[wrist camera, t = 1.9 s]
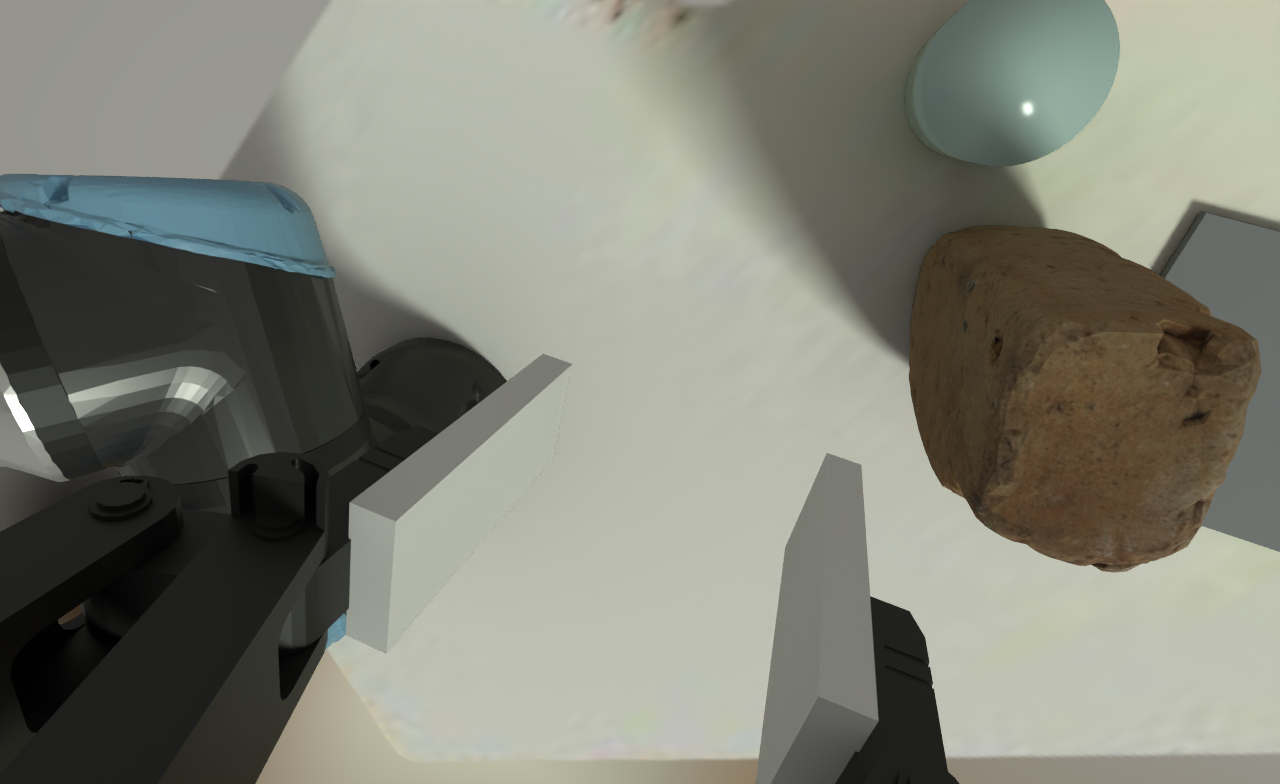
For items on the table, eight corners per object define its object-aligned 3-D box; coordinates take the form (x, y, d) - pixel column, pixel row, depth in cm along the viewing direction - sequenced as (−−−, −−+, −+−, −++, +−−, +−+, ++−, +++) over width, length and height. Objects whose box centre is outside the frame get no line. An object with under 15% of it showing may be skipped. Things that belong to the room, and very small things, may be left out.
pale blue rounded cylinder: (883, 139, 34) (895, 142, 27) (939, -7, 31) (968, -46, 24) (1013, 173, 33) (1060, 185, 26) (1084, 26, 30) (1159, -5, 23)
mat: (1039, 467, 39) (1041, 471, 38) (1200, 211, 32) (1206, 212, 31) (1342, 568, 36) (1350, 575, 35) (1593, 313, 29) (1607, 317, 28)
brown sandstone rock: (928, 211, 35) (1020, 296, 17) (1078, 221, 33) (1352, 329, 16) (890, 387, 39) (932, 598, 22) (1020, 405, 38) (1182, 651, 20)
